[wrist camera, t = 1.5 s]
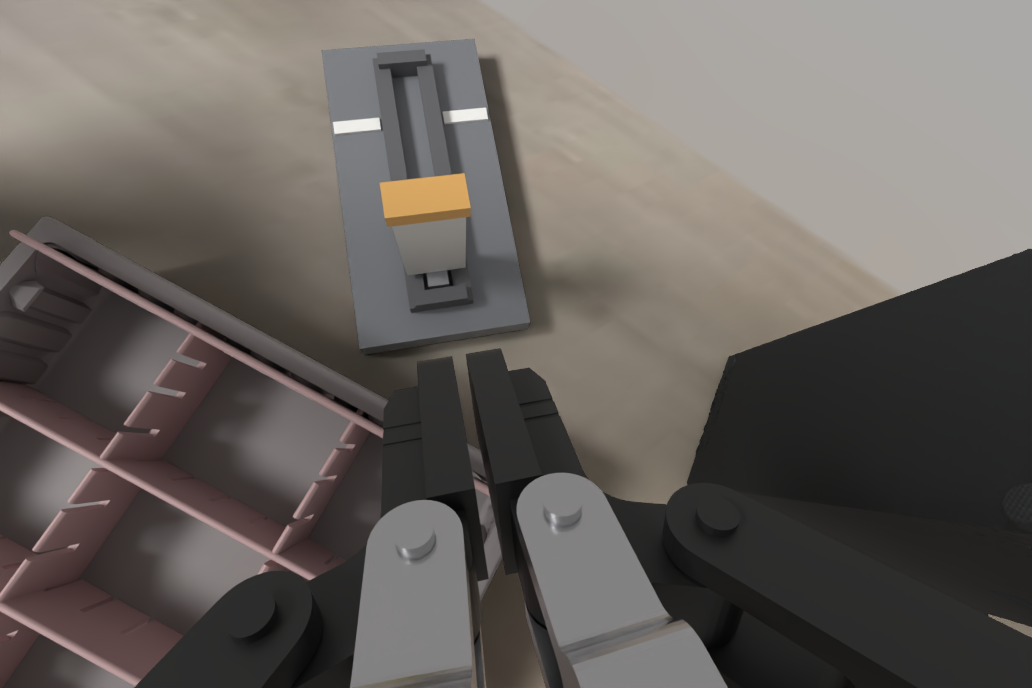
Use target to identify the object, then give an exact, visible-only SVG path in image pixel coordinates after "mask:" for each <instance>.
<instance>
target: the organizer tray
mask: <svg viewBox="0 0 1032 688" xmlns="http://www.w3.org/2000/svg"><path fill="white" fill-rule="evenodd" d="M9 234H10V235H11V236H12V237H14V238H16V239H18V240H19V241H21V242H20V243H19V244H18V245H17V246H16V248H15V249H14V250H13V251H12V252H11V253H10V254H9V256H8V257H7V258H6V259H5V260H4V261H3V263H2V264H1V265H0V688H134V687H135V686H136V685H137V684H138V683H139V682H140V681H141V680H142V679H143V678H144V677H145V676H146V674H147V673H148V672H149V671H150V670H151V669H152V668H153V667H154V666H155V665H156V664H157V663H158V662H159V661H160V660H161V659H162V658H163V657H164V656H165V655H166V654H167V653H168V652H169V651H170V650H171V649H172V648H173V647H174V646H175V644H176V643H177V642H178V641H179V640H180V639H181V638H182V637H183V636H184V635H185V634H186V633H187V632H188V631H189V630H190V629H191V628H192V627H193V626H194V625H195V624H196V623H197V622H198V621H199V620H200V619H201V618H202V617H203V615H204V614H205V613H206V612H207V611H208V610H209V609H210V608H211V607H212V606H213V605H214V604H215V603H216V602H217V601H218V600H219V599H220V598H221V597H222V596H223V595H224V594H225V593H226V592H228V591H229V590H230V589H232V588H233V587H234V586H236V585H237V584H239V583H241V582H242V581H244V580H246V579H248V578H250V577H252V576H255V575H258V574H261V573H264V572H269V571H287V572H291V573H294V574H297V575H298V576H300V577H301V578H302V579H303V580H304V581H305V582H307V581H309V580H311V579H313V578H315V577H317V576H319V575H321V574H323V573H325V572H327V571H329V570H331V569H333V568H335V567H337V566H338V565H340V564H342V563H344V562H345V561H347V560H349V559H350V558H351V557H353V556H354V555H355V554H357V553H358V552H359V551H360V550H361V549H362V548H363V547H364V546H365V545H366V544H367V542H368V538H369V536H370V533H371V531H372V530H373V528H374V527H375V525H376V524H377V523H378V521H379V520H380V516H381V495H382V454H383V432H384V430H383V414H384V408H385V406H386V404H387V402H388V401H389V400H387V399H385V398H384V397H382V396H380V395H378V394H376V393H374V392H373V391H371V390H369V389H367V388H365V387H363V386H362V385H360V384H358V383H356V382H354V381H352V380H350V379H349V378H347V377H345V376H343V375H341V374H339V373H338V372H336V371H334V370H332V369H330V368H328V367H327V366H325V365H323V364H321V363H319V362H317V361H316V360H314V359H312V358H310V357H308V356H306V355H304V354H303V353H301V352H299V351H297V350H295V349H293V348H292V347H290V346H288V345H286V344H284V343H282V342H281V341H279V340H277V339H275V338H273V337H271V336H269V335H268V334H266V333H264V332H262V331H260V330H258V329H257V328H255V327H253V326H251V325H249V324H247V323H246V322H244V321H242V320H240V319H238V318H236V317H235V316H233V315H231V314H229V313H227V312H225V311H223V310H222V309H220V308H218V307H216V306H214V305H212V304H211V303H209V302H207V301H205V300H203V299H201V298H200V297H198V296H196V295H194V294H192V293H190V292H188V291H187V290H185V289H183V288H181V287H179V286H177V285H176V284H174V283H172V282H170V281H168V280H166V279H165V278H163V277H161V276H159V275H157V274H155V273H154V272H152V271H150V270H148V269H146V268H144V267H142V266H141V265H139V264H137V263H135V262H133V261H131V260H130V259H128V258H126V257H124V256H122V255H120V254H119V253H117V252H115V251H113V250H111V249H109V248H107V247H106V246H104V245H102V244H100V243H98V242H96V241H95V240H93V239H91V238H89V237H87V236H85V235H84V234H82V233H80V232H78V231H76V230H74V229H73V228H71V227H69V226H67V225H65V224H63V223H61V222H60V221H58V220H56V219H54V218H52V217H43V218H41V219H40V220H39V221H38V222H37V223H36V224H35V226H34V227H33V228H32V229H31V230H30V231H29V233H28V234H27V235H25V234H23V233H21V232H19V231H17V230H11V231H10V232H9ZM467 445H468V451H469V456H470V462H471V468H472V474H473V479H474V485H475V491H476V498H477V504H478V511H479V518H480V524H481V531H482V537H483V544H484V551H485V557H486V564H487V570H488V577H489V579H487V580H482V581H478V587H479V594H480V601H482V599H483V597H484V595H485V593H486V591H487V589H488V586H489V584H490V582H491V580H492V578H493V576H494V574H495V572H496V570H497V568H498V566H499V564H500V562H501V560H502V553H501V548H500V543H499V539H498V534H497V529H496V524H495V519H494V514H493V509H492V504H491V499H490V494H489V489H488V485H487V480H486V475H485V470H484V465H483V460H482V455H481V450H479V449H478V448H476V447H474V446H472V445H470V444H468V443H467Z"/></svg>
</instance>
